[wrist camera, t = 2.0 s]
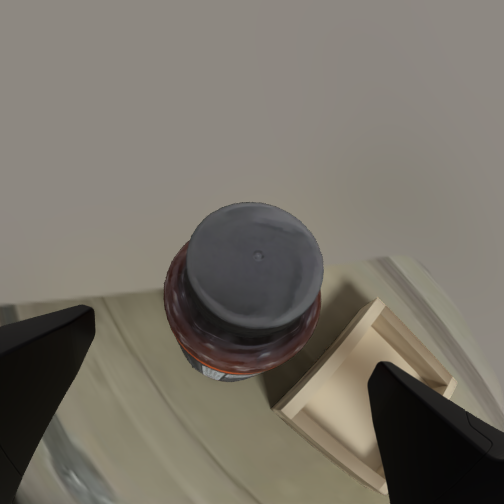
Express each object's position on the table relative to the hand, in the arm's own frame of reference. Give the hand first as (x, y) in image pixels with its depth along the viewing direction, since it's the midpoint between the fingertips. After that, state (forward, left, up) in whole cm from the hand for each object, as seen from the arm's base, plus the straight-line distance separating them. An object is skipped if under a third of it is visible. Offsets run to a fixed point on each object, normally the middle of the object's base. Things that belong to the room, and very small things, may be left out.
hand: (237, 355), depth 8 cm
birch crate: (+6, -8, -10) cm, 14 cm away
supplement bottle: (+2, +2, -10) cm, 10 cm away
